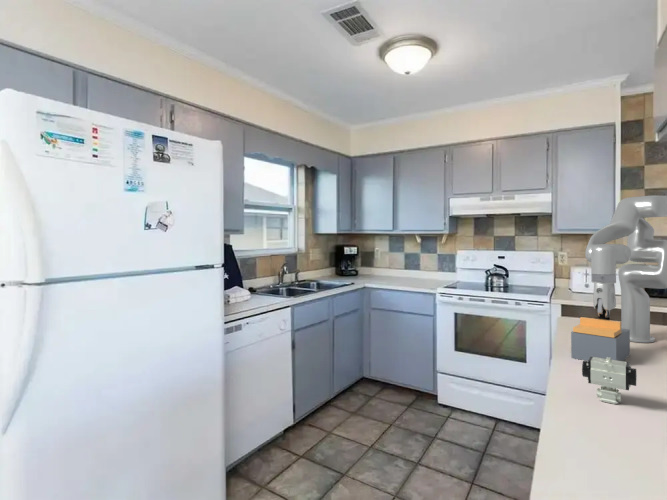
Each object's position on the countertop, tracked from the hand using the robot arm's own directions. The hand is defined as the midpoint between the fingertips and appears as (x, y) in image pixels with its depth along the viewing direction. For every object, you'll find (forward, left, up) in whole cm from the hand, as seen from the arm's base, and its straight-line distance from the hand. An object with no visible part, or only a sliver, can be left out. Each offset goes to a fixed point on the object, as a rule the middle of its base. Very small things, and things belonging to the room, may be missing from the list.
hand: (604, 327), depth 144 cm
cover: (+8, 0, 0) cm, 8 cm away
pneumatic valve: (+46, +13, -10) cm, 49 cm away
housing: (+4, 0, -10) cm, 11 cm away
